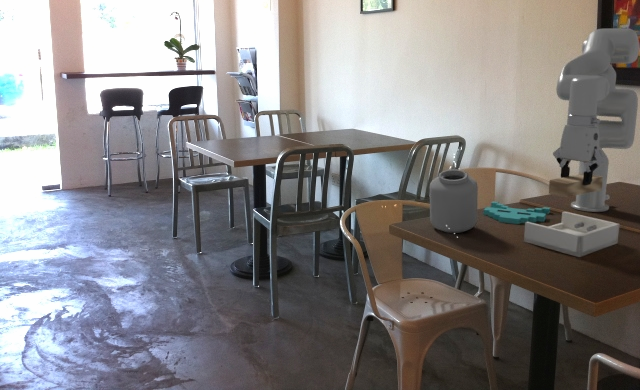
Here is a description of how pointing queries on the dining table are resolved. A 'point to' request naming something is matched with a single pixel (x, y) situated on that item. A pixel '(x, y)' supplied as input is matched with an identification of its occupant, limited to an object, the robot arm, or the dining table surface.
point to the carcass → (573, 234)
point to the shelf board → (574, 185)
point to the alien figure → (515, 214)
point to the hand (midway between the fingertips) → (575, 182)
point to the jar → (453, 201)
